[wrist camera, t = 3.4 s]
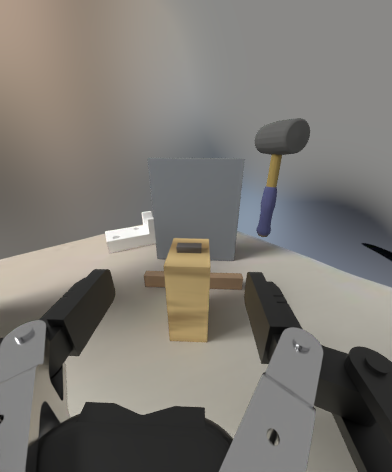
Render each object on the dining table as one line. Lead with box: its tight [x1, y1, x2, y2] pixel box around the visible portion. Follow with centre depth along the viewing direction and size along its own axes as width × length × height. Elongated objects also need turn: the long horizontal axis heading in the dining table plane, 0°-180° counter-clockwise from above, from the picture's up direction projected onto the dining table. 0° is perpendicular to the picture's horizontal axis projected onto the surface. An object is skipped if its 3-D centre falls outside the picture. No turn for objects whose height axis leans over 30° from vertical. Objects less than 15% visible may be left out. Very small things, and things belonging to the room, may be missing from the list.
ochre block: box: [164, 238, 210, 342], centre depth 25 cm, size 7×5×13 cm
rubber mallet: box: [255, 118, 310, 237], centre depth 49 cm, size 12×8×30 cm, turn 15°
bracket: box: [105, 211, 156, 253], centre depth 50 cm, size 13×7×8 cm, turn 117°
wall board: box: [144, 158, 245, 290], centre depth 35 cm, size 12×18×22 cm, turn 88°
